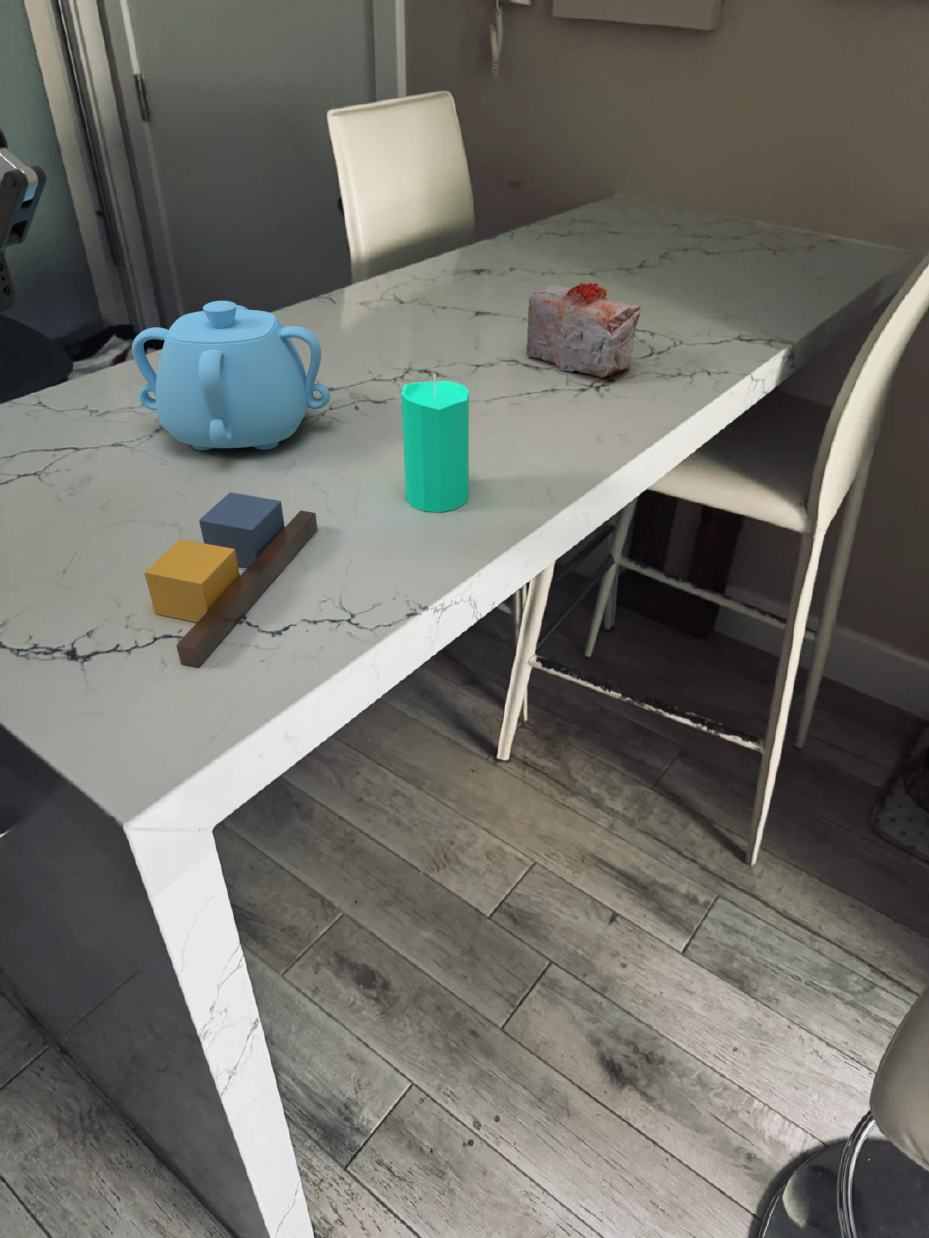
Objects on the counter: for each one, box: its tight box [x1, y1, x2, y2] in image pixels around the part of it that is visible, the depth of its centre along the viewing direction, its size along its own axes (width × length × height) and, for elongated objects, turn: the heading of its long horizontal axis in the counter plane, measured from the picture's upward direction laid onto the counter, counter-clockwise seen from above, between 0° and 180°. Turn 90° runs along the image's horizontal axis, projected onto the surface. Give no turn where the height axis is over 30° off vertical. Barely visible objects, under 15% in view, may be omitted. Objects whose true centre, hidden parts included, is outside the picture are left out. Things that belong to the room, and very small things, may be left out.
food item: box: [525, 281, 642, 379], centre depth 107 cm, size 14×8×10 cm, turn 50°
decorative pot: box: [131, 300, 331, 451], centre depth 90 cm, size 16×16×14 cm
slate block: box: [198, 491, 286, 569], centre depth 74 cm, size 5×5×4 cm
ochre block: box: [143, 538, 241, 623], centre depth 68 cm, size 5×5×4 cm
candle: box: [400, 374, 470, 513], centre depth 79 cm, size 6×6×12 cm
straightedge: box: [176, 509, 318, 669], centre depth 70 cm, size 20×2×2 cm, turn 162°
